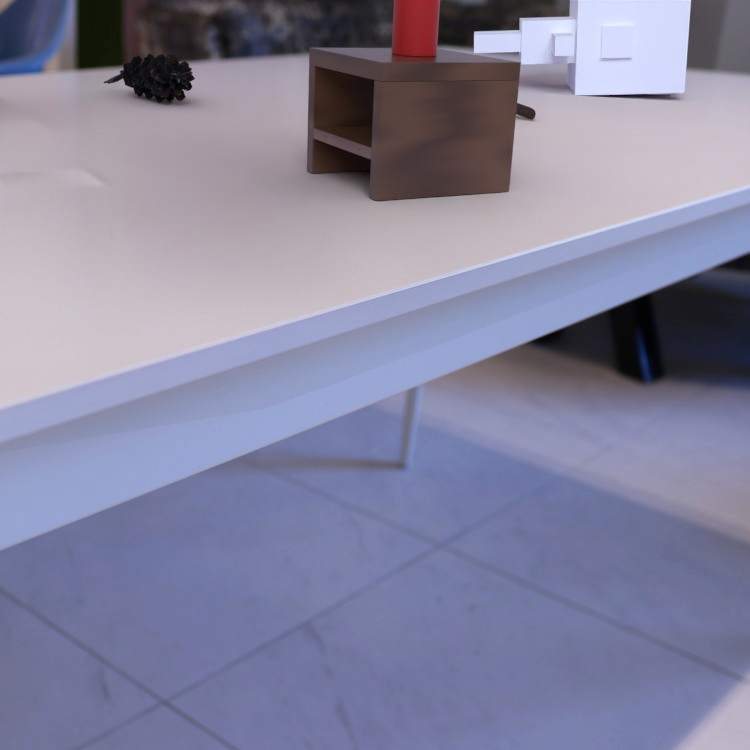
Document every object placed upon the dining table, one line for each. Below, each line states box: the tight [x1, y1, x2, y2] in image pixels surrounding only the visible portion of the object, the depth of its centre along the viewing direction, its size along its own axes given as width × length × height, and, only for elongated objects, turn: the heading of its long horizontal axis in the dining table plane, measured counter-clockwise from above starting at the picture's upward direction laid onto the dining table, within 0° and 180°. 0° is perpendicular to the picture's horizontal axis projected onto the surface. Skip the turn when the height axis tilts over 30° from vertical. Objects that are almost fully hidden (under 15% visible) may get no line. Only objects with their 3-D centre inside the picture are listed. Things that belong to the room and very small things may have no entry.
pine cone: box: [103, 52, 196, 104], centre depth 114 cm, size 18×5×5 cm, turn 39°
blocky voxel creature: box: [473, 0, 692, 97], centre depth 142 cm, size 15×25×28 cm
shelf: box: [306, 47, 522, 202], centre depth 76 cm, size 11×11×9 cm
